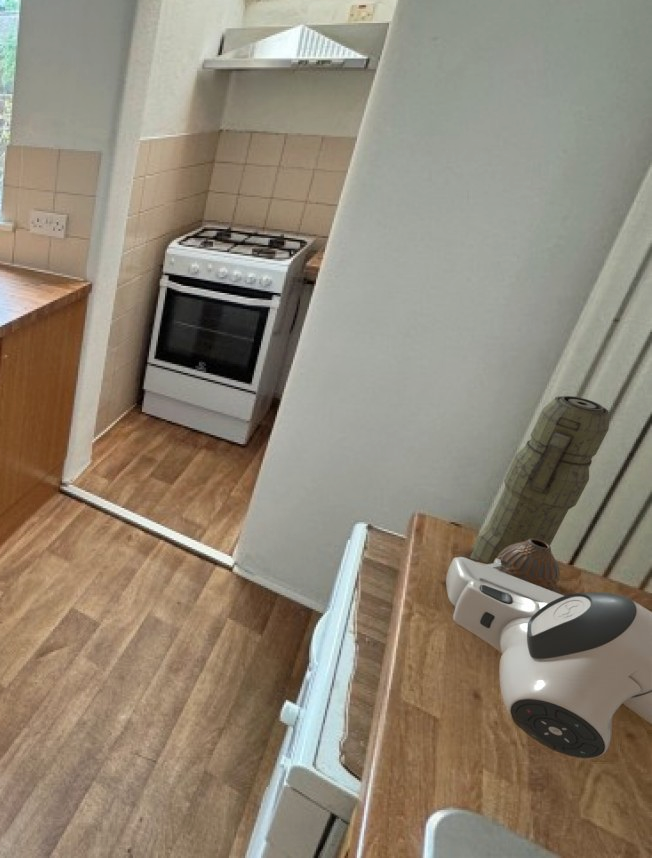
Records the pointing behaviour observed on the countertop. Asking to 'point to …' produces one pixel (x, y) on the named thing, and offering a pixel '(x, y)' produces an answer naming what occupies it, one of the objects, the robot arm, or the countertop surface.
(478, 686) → the countertop surface
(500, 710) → the countertop surface
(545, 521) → the carved stone statue
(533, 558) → the vase
